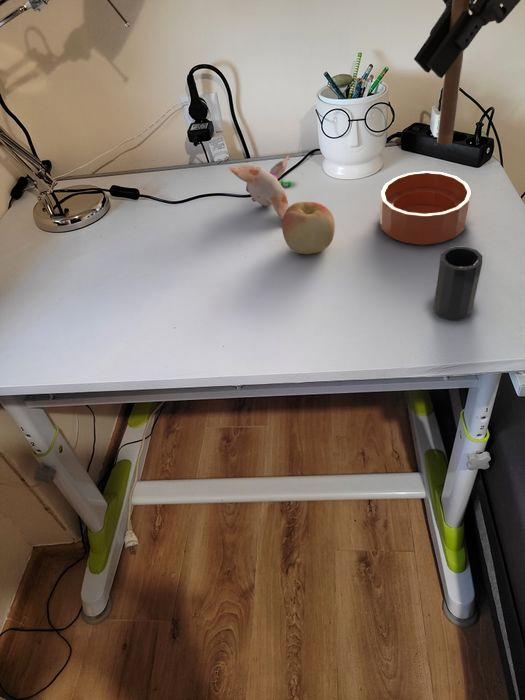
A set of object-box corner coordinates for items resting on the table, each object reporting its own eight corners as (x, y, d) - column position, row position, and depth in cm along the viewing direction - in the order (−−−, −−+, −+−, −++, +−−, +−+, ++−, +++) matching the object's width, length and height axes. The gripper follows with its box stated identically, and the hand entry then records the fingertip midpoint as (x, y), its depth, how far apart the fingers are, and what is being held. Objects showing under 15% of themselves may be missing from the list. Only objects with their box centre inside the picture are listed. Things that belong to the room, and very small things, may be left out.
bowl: (482, 217, 88) (488, 185, 84) (434, 257, 82) (438, 225, 78) (411, 194, 96) (413, 164, 92) (363, 229, 90) (363, 199, 86)
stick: (454, 140, 71) (478, -36, 57) (446, 146, 70) (469, -31, 56) (442, 137, 72) (462, -36, 58) (434, 143, 71) (452, -31, 57)
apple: (281, 239, 92) (276, 199, 86) (330, 230, 91) (328, 190, 86) (288, 267, 85) (283, 226, 80) (340, 258, 85) (339, 216, 80)
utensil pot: (478, 306, 73) (490, 254, 67) (458, 325, 71) (468, 274, 64) (446, 292, 76) (454, 241, 70) (426, 310, 74) (432, 260, 67)
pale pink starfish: (239, 154, 104) (212, 186, 94) (262, 127, 99) (235, 158, 89) (292, 205, 108) (270, 241, 98) (316, 181, 103) (296, 217, 93)
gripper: (647, -114, 51) (483, 102, 60) (535, -115, 62) (408, 70, 70) (626, -180, 47) (451, 66, 55) (508, -169, 57) (376, 37, 66)
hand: (428, 68), depth 63 cm, fingers closed on stick, 2 cm apart
